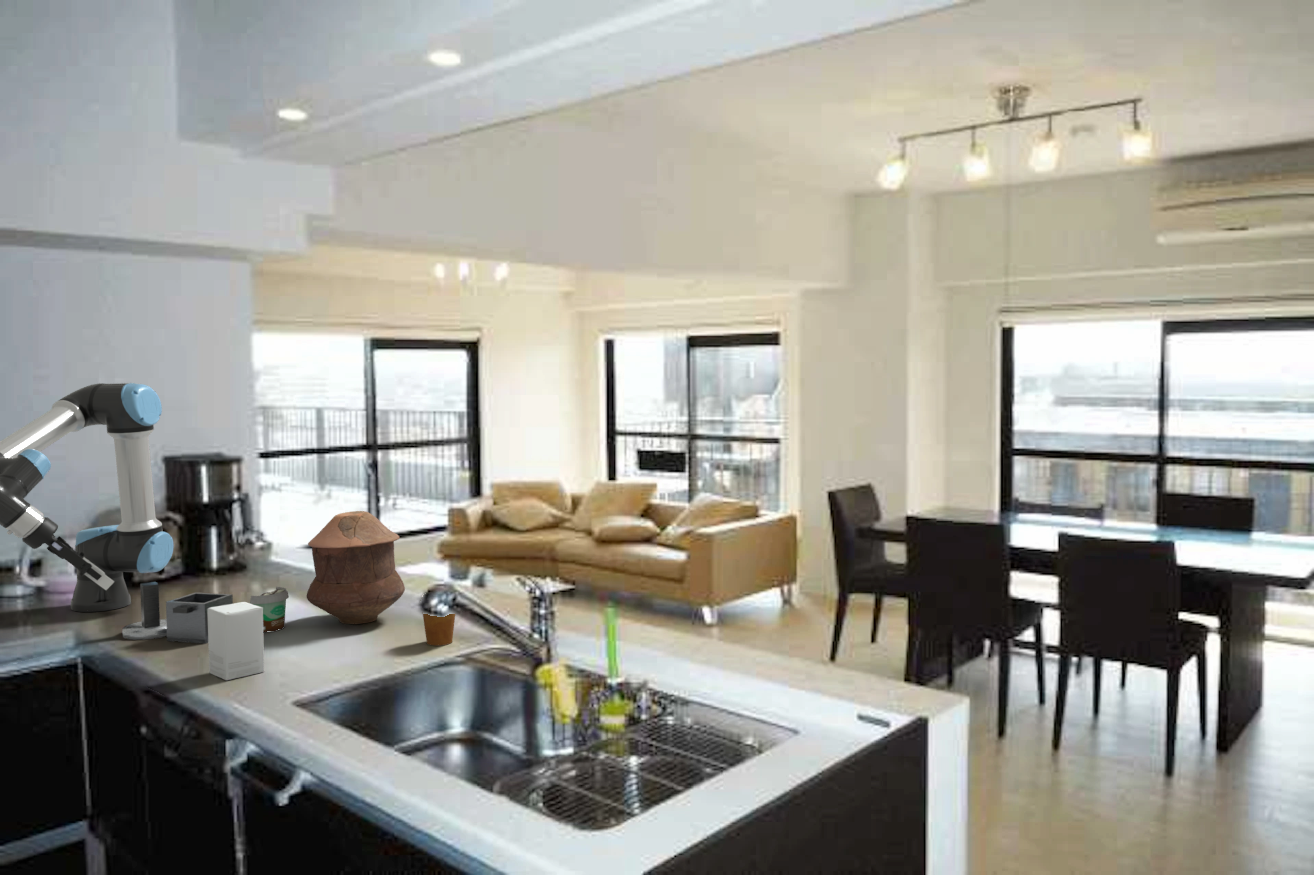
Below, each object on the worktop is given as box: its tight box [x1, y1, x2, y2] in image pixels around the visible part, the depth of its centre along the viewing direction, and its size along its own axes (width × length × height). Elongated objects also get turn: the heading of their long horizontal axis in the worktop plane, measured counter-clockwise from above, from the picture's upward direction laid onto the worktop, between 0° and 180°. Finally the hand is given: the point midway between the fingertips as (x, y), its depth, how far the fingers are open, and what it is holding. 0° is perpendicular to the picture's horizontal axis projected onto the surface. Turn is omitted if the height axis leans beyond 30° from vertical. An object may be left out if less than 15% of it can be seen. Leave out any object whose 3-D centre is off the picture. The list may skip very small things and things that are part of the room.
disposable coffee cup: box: [419, 593, 456, 647], centre depth 243 cm, size 10×10×12 cm
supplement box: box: [207, 601, 265, 681], centre depth 218 cm, size 9×9×15 cm
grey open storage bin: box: [165, 592, 234, 645], centre depth 248 cm, size 15×11×10 cm
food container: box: [249, 586, 290, 633], centre depth 256 cm, size 12×6×10 cm, turn 168°
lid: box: [121, 581, 167, 641], centre depth 252 cm, size 13×13×13 cm
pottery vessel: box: [306, 510, 406, 625], centre depth 264 cm, size 26×26×30 cm
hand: (105, 581), depth 245 cm, fingers open, 13 cm apart
